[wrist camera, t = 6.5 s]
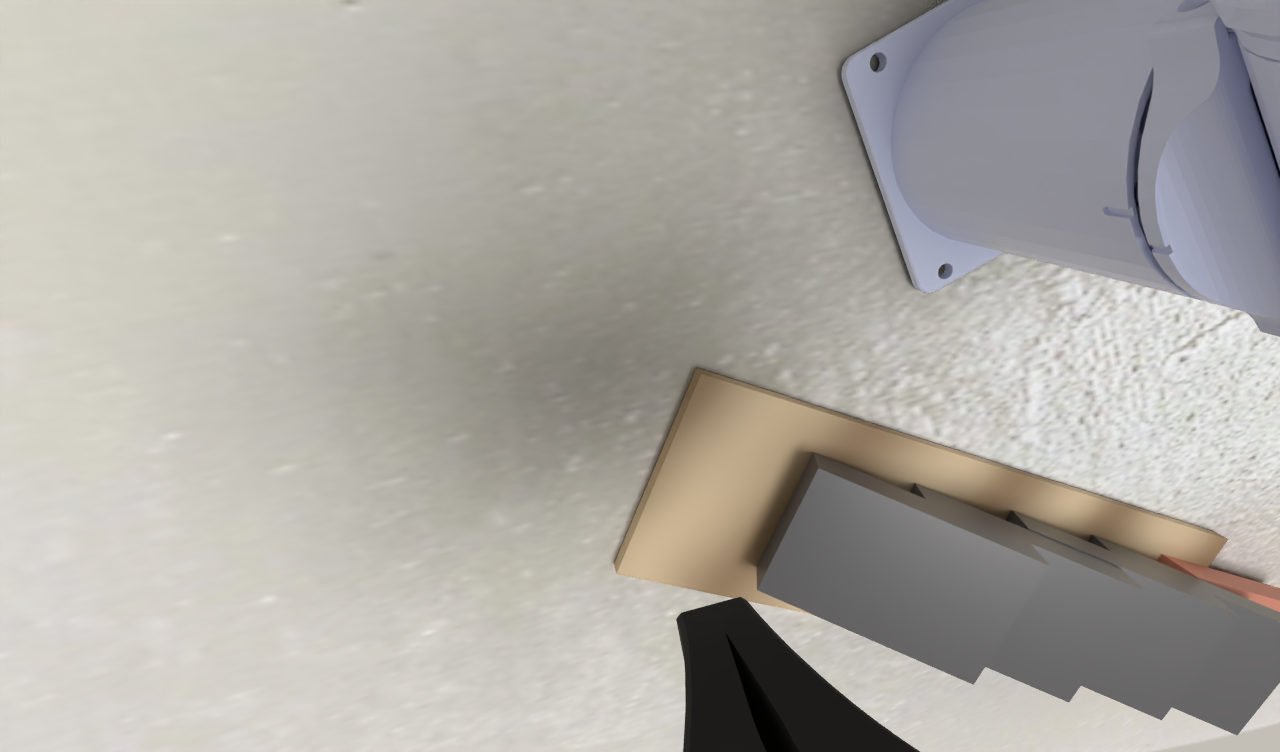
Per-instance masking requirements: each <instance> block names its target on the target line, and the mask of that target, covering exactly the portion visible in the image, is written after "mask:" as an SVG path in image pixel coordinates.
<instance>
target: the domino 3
mask: <svg viewBox="0 0 1280 752" xmlns="http://www.w3.org/2000/svg"><path fill="white" fill-rule="evenodd" d="M1006 521H1008V522H1011V523H1013V524H1015V525H1018V526H1020V527H1023V528H1025V529H1027V530H1030V531H1032V532H1035V533H1037V534H1040V535H1042V536H1044V537H1047V538H1049V539H1052V540H1054V541H1056V542H1059V543H1061V544H1064V545H1066V546H1068V547H1071V548H1073V549H1076V550H1078V551H1080V552H1083V553H1085V554H1088V555H1090V556H1093V557H1095V558H1097V559H1100V560H1102V561H1105V562H1107V563H1109V564H1112V565H1114V566H1117V567H1119V568H1121V569H1122V570H1123V571H1124V572H1125V573H1126V574H1127V575H1128V576H1130V577H1131V578H1132V579H1133V580H1134V581H1135V582H1136V583H1137V584H1138V585H1139V586H1141V587H1142V588H1143V589H1144V590H1145V591H1146V593H1145V595H1144V596H1143V597H1142V599H1141V600H1140V602H1139V603H1138V604H1137V606H1136V607H1135V609H1134V610H1133V612H1132V613H1131V614H1130V616H1129V617H1128V619H1127V620H1126V622H1125V623H1124V624H1123V626H1122V627H1121V629H1120V630H1119V632H1118V633H1117V634H1116V636H1115V637H1114V639H1113V640H1112V642H1111V643H1110V644H1109V646H1108V647H1107V649H1106V650H1105V652H1104V653H1103V654H1102V656H1101V657H1100V659H1099V660H1098V662H1097V663H1096V664H1095V666H1094V667H1093V669H1092V670H1091V671H1090V673H1089V674H1088V676H1087V677H1086V679H1085V680H1084V681H1083V683H1082V684H1081V686H1084V687H1086V688H1088V689H1090V690H1093V691H1095V692H1097V693H1100V694H1102V695H1104V696H1107V697H1109V698H1111V699H1114V700H1116V701H1118V702H1121V703H1123V704H1125V705H1127V706H1130V707H1132V708H1134V709H1137V710H1139V711H1141V712H1144V713H1146V714H1148V715H1151V716H1153V717H1155V718H1158V719H1160V720H1162V719H1163V718H1164V717H1165V715H1166V714H1167V713H1168V711H1169V710H1170V709H1171V707H1172V706H1173V705H1174V703H1175V702H1176V701H1177V699H1178V698H1179V697H1180V695H1181V694H1182V693H1183V692H1184V690H1185V689H1186V688H1187V686H1188V685H1189V684H1190V682H1191V681H1192V680H1193V678H1194V677H1195V676H1196V674H1197V673H1198V672H1199V670H1200V669H1201V668H1202V666H1203V665H1204V664H1205V662H1206V661H1207V660H1208V658H1209V657H1210V656H1211V655H1212V653H1213V652H1214V651H1215V649H1216V648H1217V647H1218V645H1219V644H1220V643H1221V641H1222V640H1223V639H1224V637H1225V636H1226V635H1227V633H1228V632H1229V631H1230V629H1231V628H1232V627H1233V625H1234V624H1235V623H1236V622H1237V620H1238V619H1239V618H1240V616H1239V615H1238V614H1237V613H1235V612H1234V611H1233V610H1232V609H1230V608H1229V607H1228V606H1227V605H1225V604H1224V603H1223V602H1221V601H1220V600H1219V599H1218V598H1216V597H1215V596H1214V595H1213V594H1211V593H1210V592H1208V591H1205V590H1203V589H1201V588H1198V587H1196V586H1193V585H1191V584H1189V583H1186V582H1184V581H1181V580H1179V579H1176V578H1174V577H1172V576H1169V575H1167V574H1164V573H1162V572H1160V571H1157V570H1155V569H1152V568H1150V567H1148V566H1145V565H1143V564H1140V563H1138V562H1136V561H1133V560H1131V559H1128V558H1126V557H1124V556H1121V555H1119V554H1116V553H1114V552H1112V551H1109V550H1107V549H1104V548H1102V547H1100V546H1097V545H1095V544H1092V543H1090V542H1088V541H1085V540H1083V539H1080V538H1078V537H1076V536H1073V535H1071V534H1068V533H1066V532H1064V531H1061V530H1059V529H1056V528H1054V527H1052V526H1049V525H1047V524H1044V523H1042V522H1040V521H1037V520H1035V519H1032V518H1030V517H1028V516H1025V515H1023V514H1020V513H1018V512H1015V511H1013V510H1012V511H1011V512H1010V514H1009V515H1008V517H1007V519H1006Z"/></svg>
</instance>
